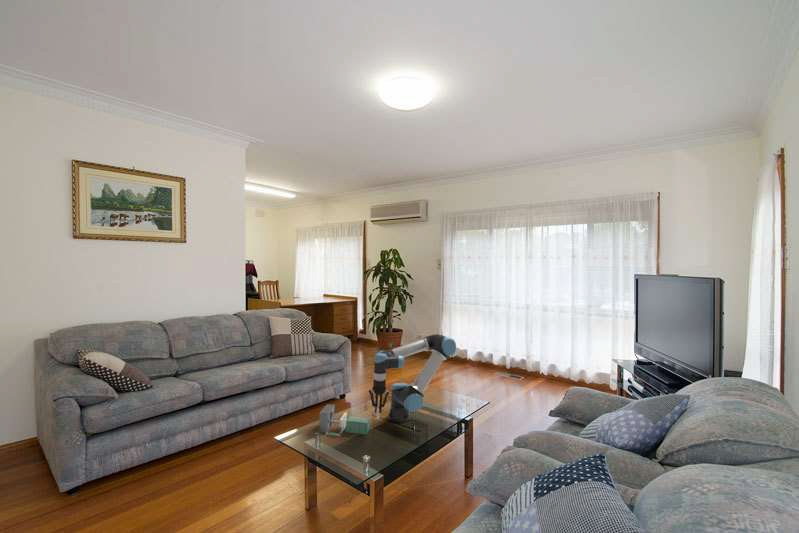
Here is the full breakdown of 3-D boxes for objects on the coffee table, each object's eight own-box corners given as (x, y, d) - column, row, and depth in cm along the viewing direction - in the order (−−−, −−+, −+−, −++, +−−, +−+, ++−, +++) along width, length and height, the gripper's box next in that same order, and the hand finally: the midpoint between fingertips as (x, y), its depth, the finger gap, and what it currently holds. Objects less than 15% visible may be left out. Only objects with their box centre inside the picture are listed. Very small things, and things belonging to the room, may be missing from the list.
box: (366, 435, 221) (367, 422, 221) (345, 432, 223) (345, 420, 223) (370, 430, 228) (370, 418, 228) (349, 427, 231) (349, 415, 231)
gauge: (347, 424, 234) (348, 406, 234) (340, 436, 218) (341, 416, 218) (326, 423, 236) (326, 404, 236) (317, 434, 220) (318, 414, 220)
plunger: (346, 424, 233) (346, 412, 233) (339, 435, 218) (340, 422, 218) (326, 423, 235) (327, 410, 235) (318, 433, 220) (318, 420, 220)
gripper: (391, 378, 228) (389, 416, 228) (370, 376, 230) (368, 414, 229) (389, 381, 221) (387, 421, 220) (368, 380, 222) (366, 419, 222)
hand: (377, 417), depth 225 cm, fingers closed
